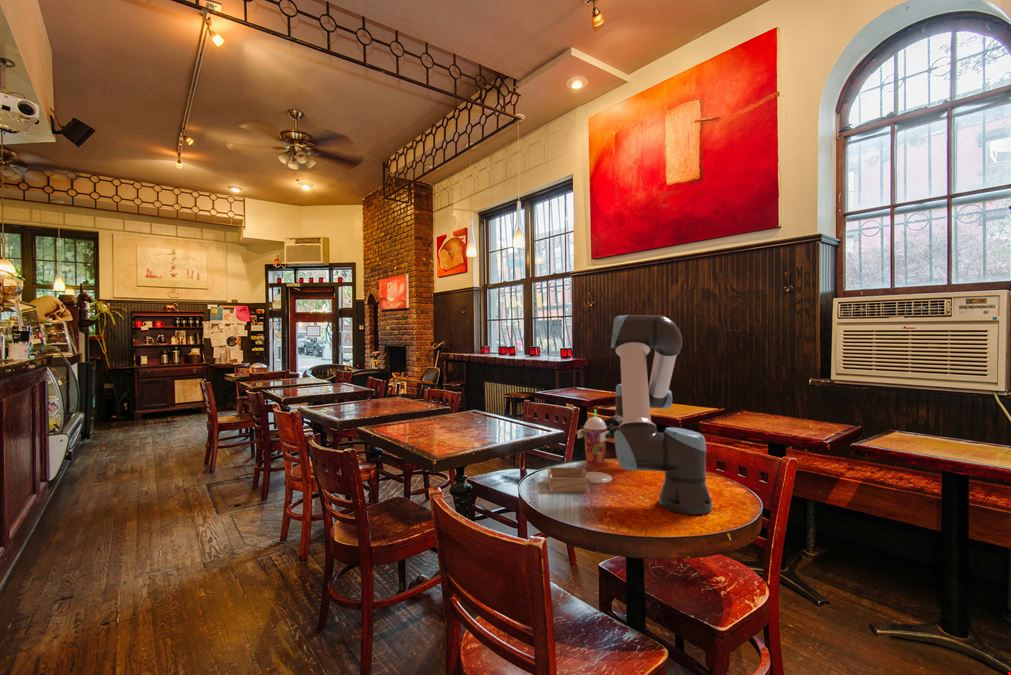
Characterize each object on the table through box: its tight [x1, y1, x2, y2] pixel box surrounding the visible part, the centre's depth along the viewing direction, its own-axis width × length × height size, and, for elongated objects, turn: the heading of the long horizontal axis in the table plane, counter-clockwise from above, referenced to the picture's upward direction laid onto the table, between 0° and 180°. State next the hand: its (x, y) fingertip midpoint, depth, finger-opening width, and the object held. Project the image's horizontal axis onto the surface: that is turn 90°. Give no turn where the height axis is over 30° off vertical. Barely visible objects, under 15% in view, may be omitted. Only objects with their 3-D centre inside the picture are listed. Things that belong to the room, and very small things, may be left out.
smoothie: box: [583, 408, 607, 467], centre depth 170 cm, size 8×8×20 cm
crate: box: [547, 466, 590, 493], centre depth 161 cm, size 13×13×4 cm
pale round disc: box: [586, 471, 613, 484], centre depth 170 cm, size 12×12×1 cm
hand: (589, 436), depth 166 cm, fingers closed on smoothie, 8 cm apart
